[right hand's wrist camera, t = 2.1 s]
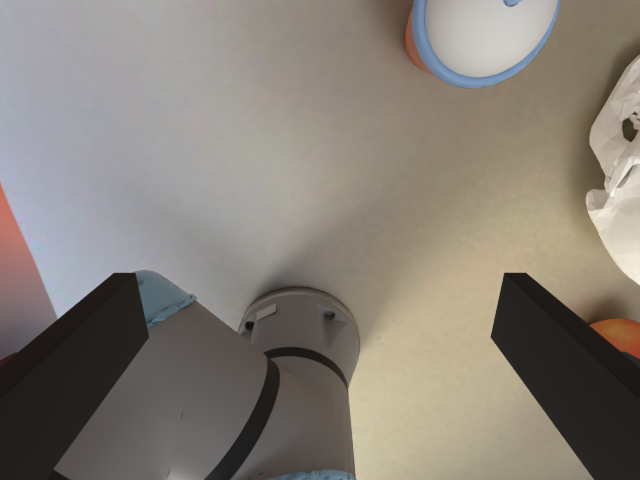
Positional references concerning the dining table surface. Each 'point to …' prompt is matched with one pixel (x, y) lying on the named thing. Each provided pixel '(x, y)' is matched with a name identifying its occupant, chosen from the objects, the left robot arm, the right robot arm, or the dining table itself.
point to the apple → (620, 334)
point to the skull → (619, 174)
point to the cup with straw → (477, 38)
